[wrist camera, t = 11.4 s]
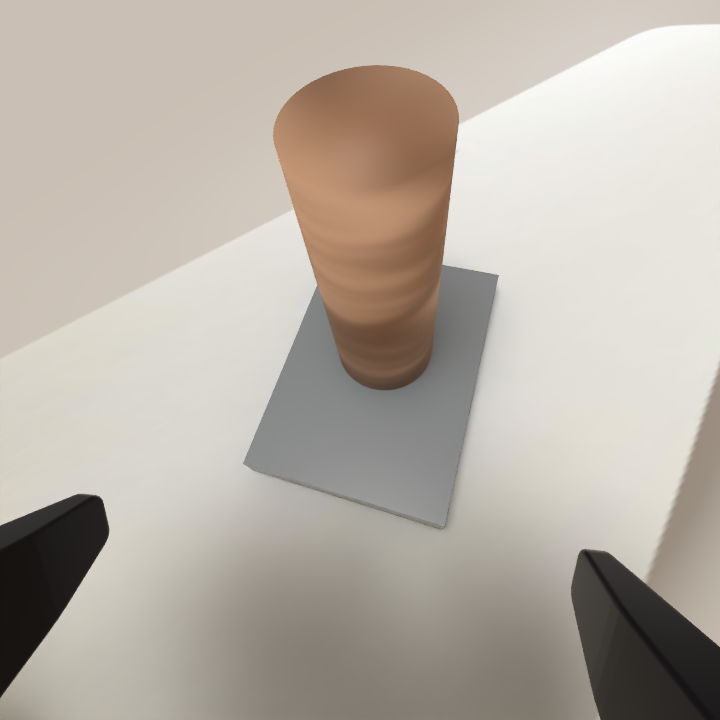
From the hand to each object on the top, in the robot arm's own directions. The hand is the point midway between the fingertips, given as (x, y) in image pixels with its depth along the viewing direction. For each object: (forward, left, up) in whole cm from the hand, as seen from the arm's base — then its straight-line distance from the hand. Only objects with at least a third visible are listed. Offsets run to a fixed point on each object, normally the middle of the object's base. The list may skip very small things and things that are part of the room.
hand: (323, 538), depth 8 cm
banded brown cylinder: (+10, +2, -12) cm, 16 cm away
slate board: (+9, +2, -14) cm, 16 cm away
